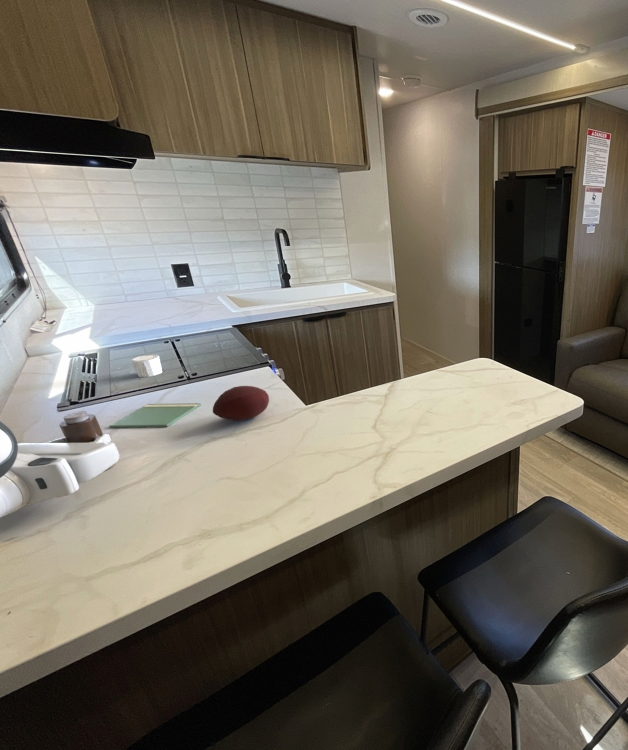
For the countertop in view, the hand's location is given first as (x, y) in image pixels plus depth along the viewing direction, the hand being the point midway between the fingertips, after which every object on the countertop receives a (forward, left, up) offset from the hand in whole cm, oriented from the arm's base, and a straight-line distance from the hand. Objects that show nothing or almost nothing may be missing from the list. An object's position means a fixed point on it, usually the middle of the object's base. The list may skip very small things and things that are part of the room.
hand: (90, 437), depth 80 cm
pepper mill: (0, -1, -7) cm, 7 cm away
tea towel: (-6, +22, -7) cm, 24 cm away
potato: (+18, +20, -7) cm, 28 cm away
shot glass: (-28, +48, -7) cm, 56 cm away
